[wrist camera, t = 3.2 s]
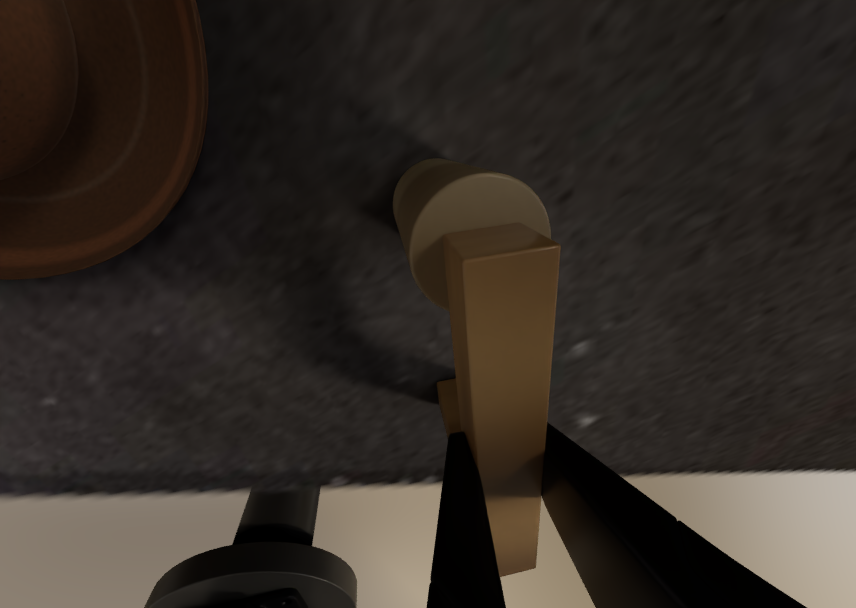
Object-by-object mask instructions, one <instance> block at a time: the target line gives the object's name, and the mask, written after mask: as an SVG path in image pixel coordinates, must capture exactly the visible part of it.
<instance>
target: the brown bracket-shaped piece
mask: <svg viewBox="0 0 856 608" xmlns="http://www.w3.org/2000/svg"><path fill="white" fill-rule="evenodd" d="M393 212H394V216H395V220H396V223H397V226H398V230H399V233H400V236H401V240H402V243H403V246H404V249H405V253H406V256H407V259H408V263H409V266H410V269H411V272H412V275H413V277H414V280H415V282H416V284H417V285H418V287H419V289H420V290H421V291H422V293H423V294H424V295H425V296H426V297H427V298H428V299H429V300H430V301H432V302H433V303H434V304H436V305H437V306H439V307H441V308H443V309H445V310H448V311H450V321H451V332H452V342H453V352H454V363H455V373H456V378H455V379H450V380H445V381H440V382H437V390H438V398H439V405H440V410H441V414H442V418H443V421H444V425H445V429H446V433H447V437H449V434H450V433H455V432H459V431H463V432H464V433H465V436H466V439H467V442H468V444H469V447H470V450H471V453H472V455H473V458H474V461H475V464H476V465H477V467H478V470H479V473H480V477H481V481H482V486H483V492H484V497H485V502H486V507H487V512H488V518H489V523H490V528H491V533H492V538H493V544H494V549H495V554H496V559H497V564H498V570H499V575H500V577H502V576H506V575H510V574H514V573H518V572H522V571H526V570H529V569H534V568H536V556H537V545H538V532H539V519H540V506H541V492H542V479H543V466H544V453H545V442H546V429H547V416H548V403H549V390H550V377H551V364H552V352H553V339H554V326H555V313H556V300H557V287H558V274H559V261H560V248H561V247H560V244H558V243H556V242H555V241H553V240H551V230H550V222H549V218H548V215H547V212H546V209H545V207H544V205H543V203H542V201H541V200H540V198H539V197H538V195H537V194H536V193H535V192H534V191H533V190H532V189H531V188H530V187H529V186H528V185H526V184H525V183H524V182H522V181H520V180H519V179H517V178H514V177H512V176H509V175H506V174H502V173H498V172H494V171H490V170H486V169H482V168H478V167H474V166H470V165H466V164H462V163H458V162H454V161H450V160H446V159H439V158H434V159H427V160H424V161H421V162H419V163H417V164H415V165H413V166H412V167H411V168H409V169H408V170H407V171H406V172H405V173H404V174H403V176H402V177H401V178H400V180H399V182H398V184H397V186H396V189H395V192H394V197H393Z"/></svg>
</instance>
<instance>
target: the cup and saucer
mask: <svg viewBox="0 0 856 608" xmlns="http://www.w3.org/2000/svg"><path fill="white" fill-rule="evenodd" d="M207 111H208V70H207V60H206V50H205V43H204V38H203V32H202V27H201V21H200V16H199V12H198V8H197V4H196V1H195V0H0V279H5V280H17V279H31V278H43V277H49V276H55V275H61V274H66V273H70V272H74V271H78V270H82V269H85V268H88V267H91V266H94V265H96V264H99V263H102V262H104V261H107V260H109V259H111V258H113V257H114V256H116V255H118V254H120V253H122V252H124V251H126V250H127V249H129V248H130V247H132V246H133V245H135V244H136V243H138V242H139V241H141V240H142V239H143V238H145V237H146V236H147V235H148V234H149V233H150V232H151V231H152V230H154V229H155V228H156V227H157V226H158V225H159V224H160V223H161V222H162V221H163V219H164V218H165V217H166V216H167V215H168V214H169V213H170V211H171V210H172V209H173V208H174V207H175V205H176V204H177V202H178V200H179V199H180V197H181V196H182V194H183V193H184V191H185V190H186V188H187V186H188V184H189V181H190V179H191V177H192V175H193V173H194V171H195V168H196V165H197V162H198V159H199V156H200V153H201V149H202V145H203V140H204V135H205V130H206V122H207Z"/></svg>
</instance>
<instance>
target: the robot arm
mask: <svg viewBox="0 0 856 608" xmlns="http://www.w3.org/2000/svg"><path fill="white" fill-rule="evenodd" d="M541 496H542V498H543V501H544V503H545V506H546V508H547V510H548V512H549V514H550V517H551V518H552V521H553V522H554V525H555V527H556V529H557V531H558V533H559V535H560V537H561V539H562V541H563V543H564V545H565V547H566V549H567V550H568V553H569V555H570V557H571V559H572V561H573V563H574V565H575V567H576V569H577V571H578V573H579V575H580V577H581V579H582V581H583V583H584V585H585V587H586V589H587V591H588V593H589V595H590V597H591V599H592V601H593V603H594V605H595V607H596V608H807V607H805V606H804V605H802V604H800V603H799V602H797V601H796V600H794V599H793V598H791V597H790V596H788V595H786V594H785V593H783V592H782V591H780V590H779V589H777V588H776V587H774V586H773V585H771V584H769V583H768V582H766V581H765V580H763V579H762V578H761V577H759V576H758V575H756V574H754V573H753V572H752V571H750V570H749V569H747V568H746V567H744V566H743V565H741V564H739V563H738V562H737V561H735V560H734V559H732V558H731V557H729V556H728V555H727V554H725V553H724V552H722V551H721V550H719V549H718V548H717V547H715V546H714V545H713V544H711V543H710V542H708V541H707V540H705V539H704V538H703V537H701V536H700V535H699V534H697V533H696V532H695V531H693V530H692V529H691V528H689V527H688V526H687V525H685V524H684V523H682V522H681V521H677V519H676V518H675V517H674V516H673V515H671V514H670V513H669V512H667V511H666V510H665V509H663V508H662V507H661V506H659V505H658V504H657V503H655V502H654V501H652V500H651V499H650V498H649V497H647V496H646V495H644V494H643V493H642V492H641V491H639V490H638V489H637V488H635V487H634V486H632V485H631V484H630V483H628V482H627V481H626V480H624V479H623V478H622V477H620V476H619V475H618V474H616V473H615V472H614V471H612V470H611V469H610V468H608V467H607V466H606V465H604V464H603V463H602V462H600V461H599V460H597V459H596V458H595V457H593V456H592V455H591V454H589V453H588V452H587V451H585V450H584V449H583V448H581V447H580V446H579V445H577V444H576V443H575V442H573V441H572V440H571V439H569V438H568V437H567V436H565V435H564V434H562V433H561V432H560V431H558V430H557V429H556V428H554V427H553V426H552V425H550V424H549V423H548V422H547V429H546V442H545V453H544V466H543V479H542V492H541ZM206 608H309V607H308V606H307V604H306V602H305V601H304V599H303V598H302V596H301V595H300V593H299V591H298V590H297V589H295V588H284V589H279V590H275V591H271V592H267V593H263V594H259V595H255V596H251V597H247V598H242V599H238V600H234V601H230V602H226V603H222V604H218V605H214V606H210V607H206ZM427 608H506V606H505V601H504V596H503V590H502V585H501V580H500V575H499V570H498V564H497V559H496V554H495V549H494V544H493V538H492V533H491V528H490V523H489V518H488V512H487V507H486V502H485V497H484V492H483V486H482V481H481V477H480V473H479V470H478V467H477V465H476V464H475V461H474V458H473V455H472V453H471V450H470V447H469V444H468V442H467V439H466V436H465V433H464V432H463V431H459V432H455V433H450V434H449V437H448V445H447V453H446V461H445V469H444V476H443V484H442V492H441V500H440V508H439V516H438V524H437V532H436V540H435V548H434V555H433V563H432V571H431V583H430V585H429V593H428V601H427Z"/></svg>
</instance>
